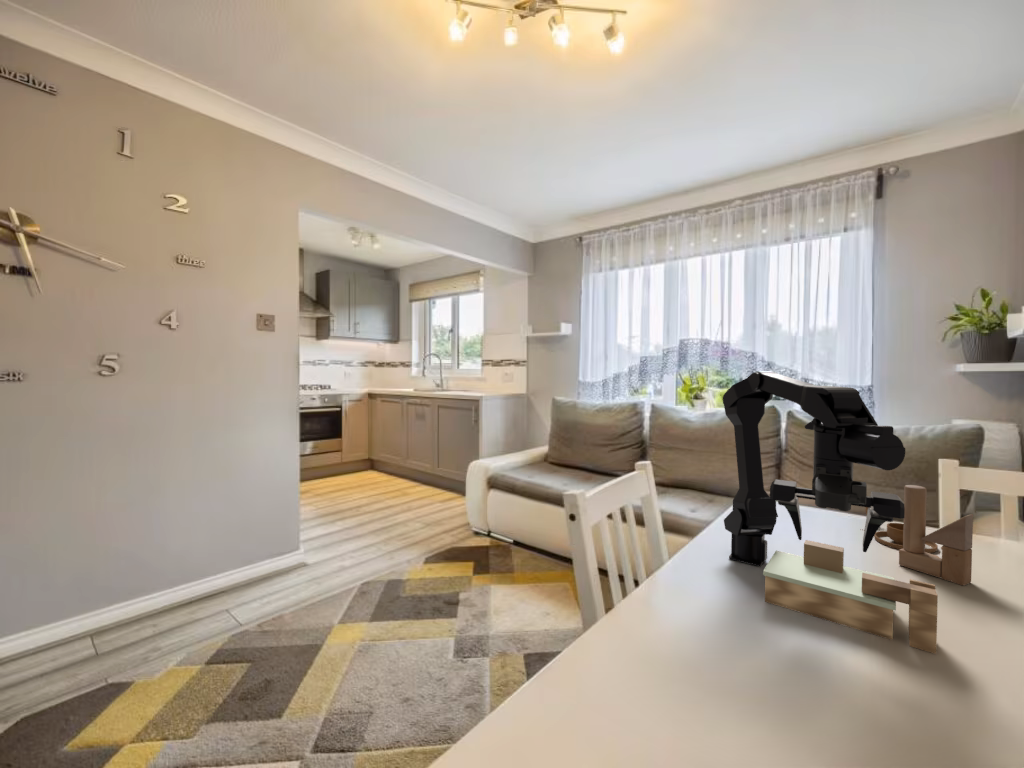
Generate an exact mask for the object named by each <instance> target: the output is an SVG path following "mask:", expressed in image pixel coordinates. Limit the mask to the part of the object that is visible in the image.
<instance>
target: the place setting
mask: <svg viewBox="0 0 1024 768" xmlns="http://www.w3.org/2000/svg"><path fill="white" fill-rule="evenodd" d="M864 508H865V514H866V515H867V511H868V508H869V507H864ZM861 530H862V531H864V528H863V529H861V528H860V531H861ZM903 530H904V523H900V522H887V524H886V530H882V531H877V532H876V533H875V535H874V537H873V538H874V540H875V541H876V542H878V543H880V544H881V545H884V546H886V547H889V548H892V549H896V550H900V549H903ZM883 537H888V538H889V539H890V540H892V541H893V542H889V541H887V540H884V539H882V538H883ZM926 545H927V546H929V547H930V546H931V547H930V548H925V552H926V553H930V554H933V553H936V552H937V551H938V549H939V548H938V547H939V546H938V544H937V543H933V542H929V541H925V546H926ZM940 549H941V550H942V546H941V547H940Z"/></svg>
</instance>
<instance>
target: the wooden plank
mask: <svg viewBox="0 0 1024 768" xmlns="http://www.w3.org/2000/svg"><path fill="white" fill-rule="evenodd" d="M911 588H914V589H918V590H922V591H926V592H931V593H935V594H937V589H936V588H935V589H931V588H927V587H922V586H918V585H914V584H910V582H909V583H908V582H905V581H900V580H896V579H895V580H892V579H888V578H884V577H879V576H875V575H871V574H867V573H862V593H866V594H870V595H873V596H877V597H881V598H885V599H889V600H893V601H896V603H897V602H898V603H901V604H905V605H908V606H909V605H910V599H911ZM937 595H938V594H937Z"/></svg>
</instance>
